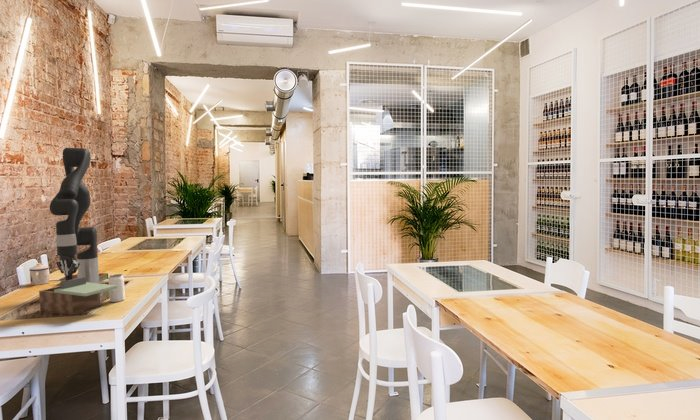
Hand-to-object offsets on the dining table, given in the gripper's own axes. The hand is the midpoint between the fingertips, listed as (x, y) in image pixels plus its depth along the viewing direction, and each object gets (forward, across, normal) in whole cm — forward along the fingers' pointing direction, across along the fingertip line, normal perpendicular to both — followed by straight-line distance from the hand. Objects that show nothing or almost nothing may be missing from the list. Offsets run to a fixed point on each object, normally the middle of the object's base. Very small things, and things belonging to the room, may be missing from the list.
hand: (69, 283), depth 197 cm
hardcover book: (+12, +48, -40) cm, 64 cm away
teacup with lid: (+12, +68, -28) cm, 75 cm away
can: (+12, -8, -17) cm, 22 cm away
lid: (+2, -11, 0) cm, 11 cm away
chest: (+12, 0, 0) cm, 12 cm away
